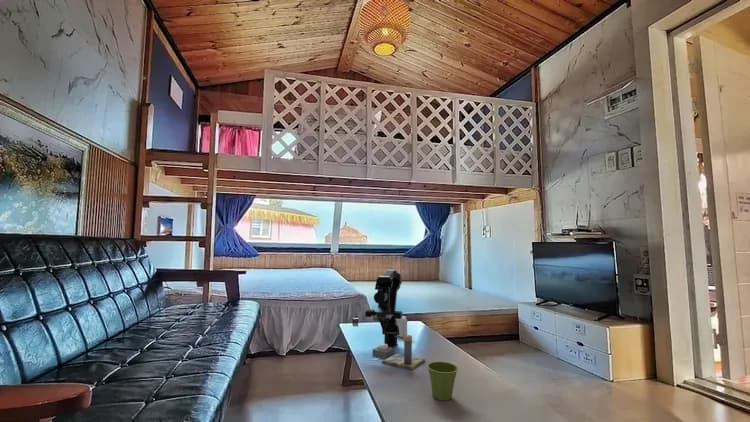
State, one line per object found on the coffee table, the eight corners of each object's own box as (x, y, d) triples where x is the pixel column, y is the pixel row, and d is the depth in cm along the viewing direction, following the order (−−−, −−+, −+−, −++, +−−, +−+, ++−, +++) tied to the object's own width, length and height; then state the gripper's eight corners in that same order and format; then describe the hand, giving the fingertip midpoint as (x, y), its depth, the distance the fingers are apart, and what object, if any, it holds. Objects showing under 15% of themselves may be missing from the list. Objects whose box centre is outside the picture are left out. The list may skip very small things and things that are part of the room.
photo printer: (391, 334, 225) (391, 314, 226) (396, 333, 228) (396, 313, 229) (403, 338, 217) (403, 317, 218) (408, 337, 220) (408, 316, 221)
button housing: (372, 355, 186) (372, 349, 186) (380, 351, 193) (380, 345, 193) (386, 358, 182) (386, 352, 182) (393, 354, 188) (394, 348, 188)
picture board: (382, 363, 175) (382, 360, 175) (396, 355, 186) (396, 352, 186) (412, 370, 166) (412, 367, 166) (425, 361, 178) (425, 358, 178)
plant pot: (438, 406, 131) (438, 374, 132) (421, 393, 142) (421, 363, 143) (464, 400, 136) (464, 369, 137) (446, 388, 147) (446, 359, 148)
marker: (402, 362, 172) (402, 335, 173) (408, 361, 174) (408, 334, 175) (407, 365, 169) (407, 337, 169) (413, 363, 171) (413, 336, 171)
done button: (377, 351, 186) (377, 345, 187) (381, 348, 190) (382, 343, 190) (384, 352, 184) (384, 346, 184) (389, 350, 188) (389, 344, 188)
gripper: (362, 302, 183) (362, 333, 182) (399, 304, 179) (399, 336, 178) (368, 298, 194) (367, 328, 193) (402, 300, 190) (402, 330, 189)
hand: (383, 330), depth 188 cm, fingers closed
